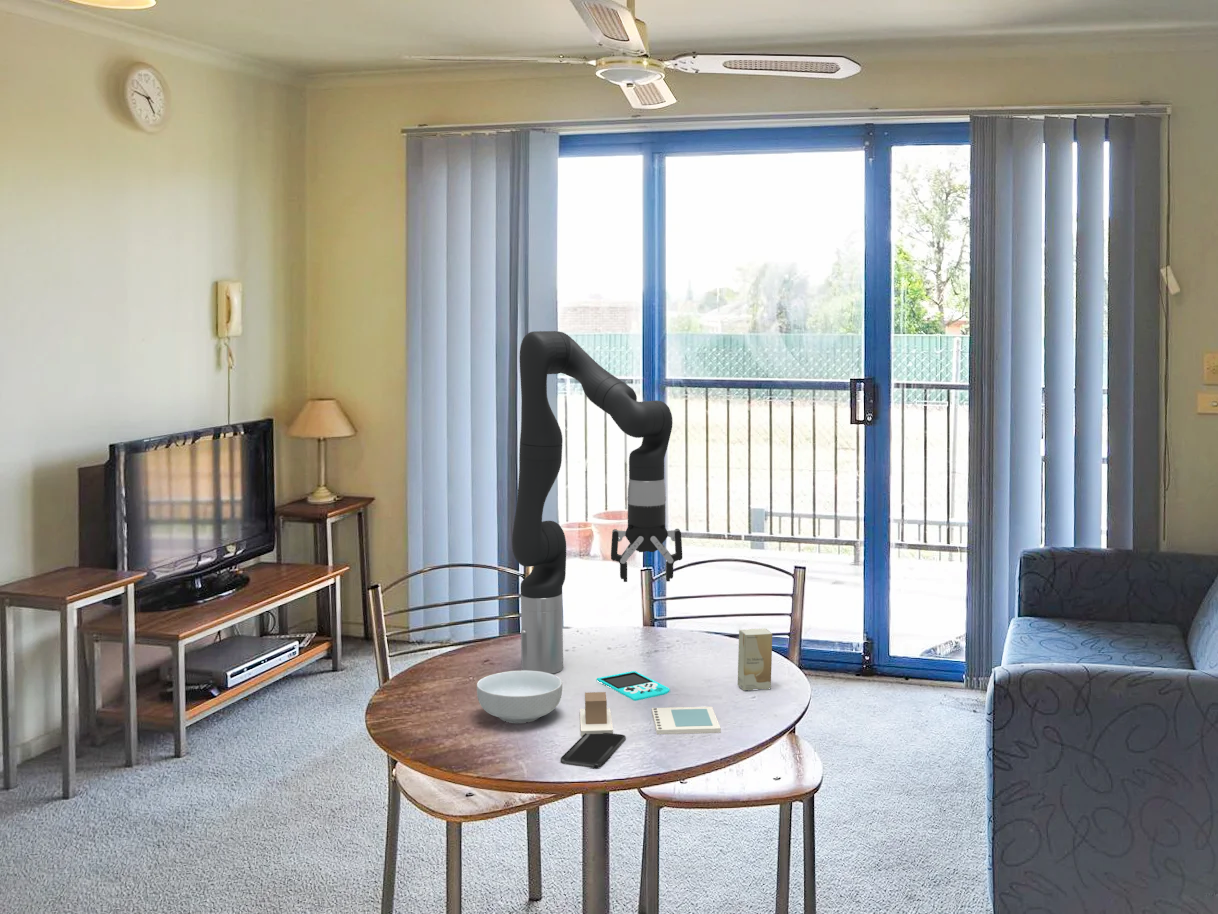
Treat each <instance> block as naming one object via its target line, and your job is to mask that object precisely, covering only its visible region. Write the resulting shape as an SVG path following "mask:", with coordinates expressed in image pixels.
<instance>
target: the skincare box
mask: <svg viewBox="0 0 1218 914" xmlns="http://www.w3.org/2000/svg"><path fill="white" fill-rule="evenodd" d="M772 656H773V632H772V631H770V630H769V629H768V628H766V627H765V628H748V629H747V628H746V629H739V630H738V658H737V660H738V661H737V686H740V687H741V688H740V687H739V688H740V689H741V690H743V691H744V690H748V691H754V690H753V689H764V690H770V689H769V688H772V665H773V664H772V662H773V661H772V660H773V659H772Z"/></svg>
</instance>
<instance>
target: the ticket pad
mask: <svg viewBox="0 0 1218 914" xmlns="http://www.w3.org/2000/svg"><path fill="white" fill-rule="evenodd" d="M651 714H652V715H651V716H652V718H653V719H652V720H653V723H654V728H655V732H656V735H682V734H683V735H684V734H688V735H689V734H719V733H720V734H721V732H722V730H721V728H722V727H721V726H720V723H719V721H718V718H717V716H716V713H715V710H714V707H713V706H689V707H688V706H683V707H677V706H676V707H651Z"/></svg>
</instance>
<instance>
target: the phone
mask: <svg viewBox="0 0 1218 914" xmlns="http://www.w3.org/2000/svg"><path fill="white" fill-rule="evenodd" d="M626 737H627V736H626V735H625V734H619V733H614V732H613V733H603V734H586V733H585V734H584V735H583V736H581V737H580V738H579V739H578V740H577V741H576V742H575V743H574V744H573V745H572V746H571V747H570V748H569V749H568V750H567V751H566V752H565V753H563V755H562V756H561V757H560V759H559V760H560V764H563V765H569V766H570V765H571V766H576V767H577V766H578V767H584V768H590V769H594V770H599V769H601V768H602V767H603V766H604V765H606V763H607V762H608V761H609V760H610V759H611V758H612V757H613V755H614V754H615V752H617V750H618V749H619V748H620V747H621V746H622V744H624V743H625V741H626Z"/></svg>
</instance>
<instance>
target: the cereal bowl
mask: <svg viewBox="0 0 1218 914" xmlns="http://www.w3.org/2000/svg"><path fill="white" fill-rule="evenodd" d="M562 694H563V680H562V679H561V678H560V677H559V676H557V675H556V674H554V673H553V674H550V673H545V672H539V671H522V670H510V671H503V672H498V673H493V674H490V675H487V676H485V677H482V678H481V679H479V680H478V681H477V683H476V695H477V700H478V703H479V705H480V706H481V708H482V709H483V710H484V711H485V712H486V713H487V714H489V715H491V716H493V717H494V718H495V717H496V718H499V719H500V720H501V721H503V722H505V721H506V723H508V722H509V724H527V723H526V722H528V723H532V722H534V721H537V720H538V719H539V718H540V717H543V716H546V715H548V714H550V713H551V712H552V711H553V710H555V709H556V708H557V706H558V705H559V703H560V701H561V698H562Z"/></svg>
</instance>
